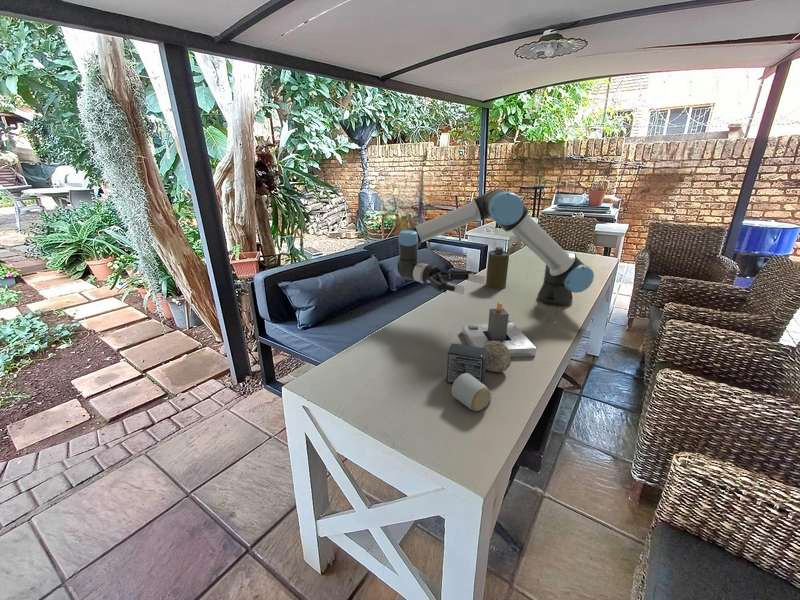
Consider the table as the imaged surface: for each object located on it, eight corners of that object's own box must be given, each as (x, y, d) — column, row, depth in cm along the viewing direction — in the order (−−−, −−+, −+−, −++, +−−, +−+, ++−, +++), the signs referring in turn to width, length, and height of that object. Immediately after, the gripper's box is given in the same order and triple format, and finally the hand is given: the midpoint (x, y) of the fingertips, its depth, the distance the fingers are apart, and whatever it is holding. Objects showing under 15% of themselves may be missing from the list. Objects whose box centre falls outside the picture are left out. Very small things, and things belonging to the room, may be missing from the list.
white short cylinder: (471, 417, 94) (474, 392, 91) (449, 401, 100) (451, 377, 97) (499, 403, 100) (502, 378, 97) (476, 388, 106) (479, 365, 103)
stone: (483, 360, 120) (485, 333, 116) (511, 371, 114) (515, 342, 111) (473, 368, 115) (476, 340, 112) (502, 379, 110) (506, 350, 106)
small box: (484, 378, 111) (487, 347, 107) (482, 390, 105) (485, 358, 101) (450, 371, 114) (451, 341, 110) (445, 383, 108) (447, 352, 104)
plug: (500, 338, 134) (504, 300, 128) (505, 345, 129) (509, 305, 124) (486, 339, 133) (490, 301, 128) (491, 346, 129) (495, 306, 123)
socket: (512, 329, 141) (513, 321, 140) (535, 355, 123) (536, 346, 121) (461, 331, 140) (462, 323, 138) (476, 358, 121) (477, 349, 120)
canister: (508, 289, 184) (512, 250, 177) (487, 289, 185) (491, 250, 177) (503, 282, 195) (507, 245, 187) (483, 282, 195) (486, 245, 188)
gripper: (445, 275, 154) (491, 286, 140) (406, 291, 137) (453, 305, 123) (446, 258, 151) (492, 267, 137) (405, 272, 134) (454, 284, 120)
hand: (474, 285), depth 130 cm, fingers open, 13 cm apart
